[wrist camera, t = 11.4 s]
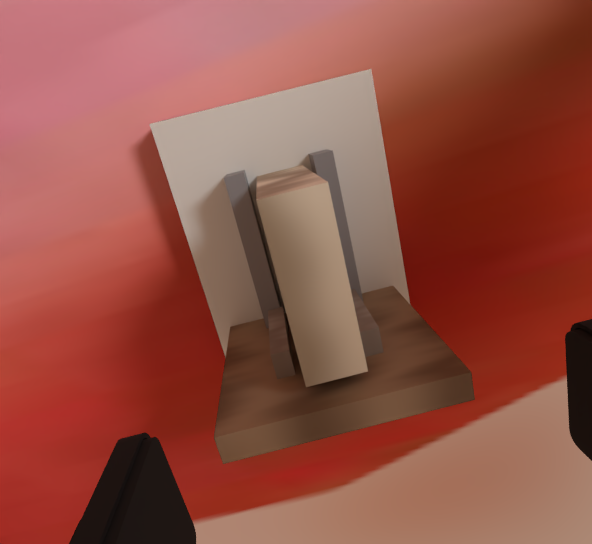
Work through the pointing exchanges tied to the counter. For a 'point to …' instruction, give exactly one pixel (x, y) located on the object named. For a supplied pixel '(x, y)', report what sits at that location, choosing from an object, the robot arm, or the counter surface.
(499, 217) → the counter surface
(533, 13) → the counter surface
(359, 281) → the white tile with rails
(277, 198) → the beige rectangular block
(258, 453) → the cabinet side
